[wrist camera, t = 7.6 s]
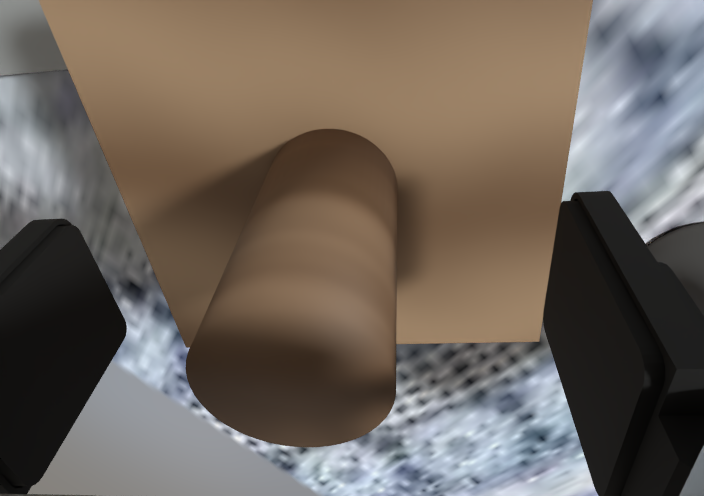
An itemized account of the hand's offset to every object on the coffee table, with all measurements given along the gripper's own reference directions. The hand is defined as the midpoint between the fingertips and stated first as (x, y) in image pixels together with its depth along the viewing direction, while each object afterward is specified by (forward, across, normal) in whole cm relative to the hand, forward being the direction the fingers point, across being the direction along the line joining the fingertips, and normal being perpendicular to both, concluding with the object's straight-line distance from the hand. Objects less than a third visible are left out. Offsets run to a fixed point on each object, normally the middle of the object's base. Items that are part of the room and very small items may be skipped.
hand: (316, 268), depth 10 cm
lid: (+4, 0, 0) cm, 4 cm away
